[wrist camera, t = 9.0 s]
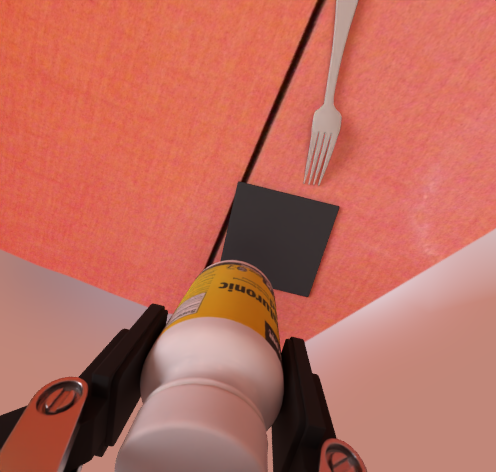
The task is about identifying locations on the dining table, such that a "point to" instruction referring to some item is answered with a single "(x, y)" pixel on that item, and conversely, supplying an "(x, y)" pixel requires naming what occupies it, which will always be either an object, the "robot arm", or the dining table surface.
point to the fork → (330, 93)
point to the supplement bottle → (211, 379)
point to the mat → (279, 235)
